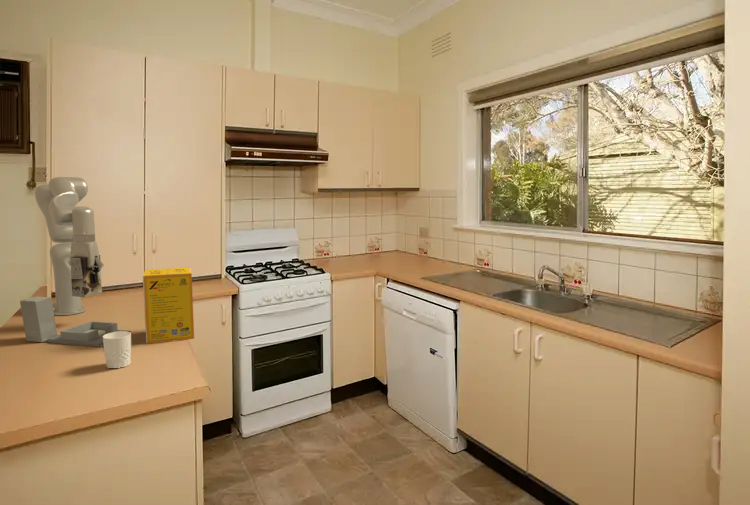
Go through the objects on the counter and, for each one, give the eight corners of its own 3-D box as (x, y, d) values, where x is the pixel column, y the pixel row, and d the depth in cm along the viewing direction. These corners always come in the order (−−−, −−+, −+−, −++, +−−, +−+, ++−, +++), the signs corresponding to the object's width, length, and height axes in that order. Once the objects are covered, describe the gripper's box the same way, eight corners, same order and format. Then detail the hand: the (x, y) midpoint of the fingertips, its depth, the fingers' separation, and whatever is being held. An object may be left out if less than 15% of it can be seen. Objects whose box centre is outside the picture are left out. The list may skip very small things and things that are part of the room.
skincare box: (58, 338, 175) (54, 296, 173) (39, 343, 169) (35, 300, 167) (42, 335, 178) (38, 295, 176) (22, 341, 171) (19, 299, 169)
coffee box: (85, 297, 186) (83, 257, 184) (71, 296, 187) (69, 256, 185) (102, 292, 195) (100, 254, 193) (89, 291, 196) (87, 253, 194)
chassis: (47, 342, 170) (46, 331, 170) (82, 329, 186) (82, 319, 185) (98, 346, 166) (98, 335, 165) (130, 333, 181) (130, 323, 181)
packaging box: (148, 331, 184) (145, 269, 181) (192, 327, 191) (190, 267, 188) (146, 343, 170) (142, 276, 167) (194, 338, 176) (191, 273, 173)
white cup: (111, 361, 152) (109, 331, 151) (136, 360, 153) (135, 331, 151) (99, 370, 144) (97, 338, 143) (126, 369, 145) (124, 338, 143)
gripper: (58, 238, 186) (61, 282, 188) (95, 241, 182) (98, 285, 185) (73, 236, 193) (76, 279, 196) (110, 239, 190) (112, 282, 192)
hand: (86, 281), depth 190 cm, fingers closed on coffee box, 6 cm apart
